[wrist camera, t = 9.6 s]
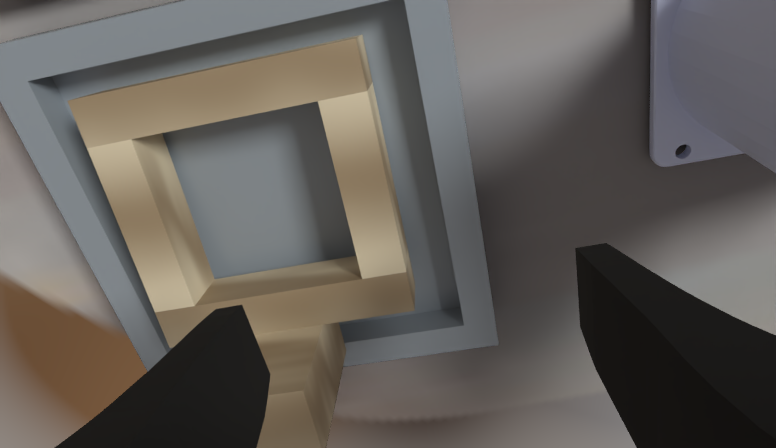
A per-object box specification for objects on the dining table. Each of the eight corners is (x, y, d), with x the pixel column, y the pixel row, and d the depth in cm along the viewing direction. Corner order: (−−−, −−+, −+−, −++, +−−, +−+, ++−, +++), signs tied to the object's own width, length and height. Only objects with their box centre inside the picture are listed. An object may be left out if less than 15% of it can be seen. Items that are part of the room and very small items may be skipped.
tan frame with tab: (426, 338, 21) (429, 443, 16) (210, 370, 23) (150, 477, 17) (362, 34, 17) (338, 47, 12) (102, 90, 18) (-19, 124, 13)
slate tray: (435, -60, 17) (438, -59, 15) (492, 313, 23) (498, 344, 22) (13, 39, 19) (-28, 50, 17) (176, 360, 25) (159, 392, 23)
